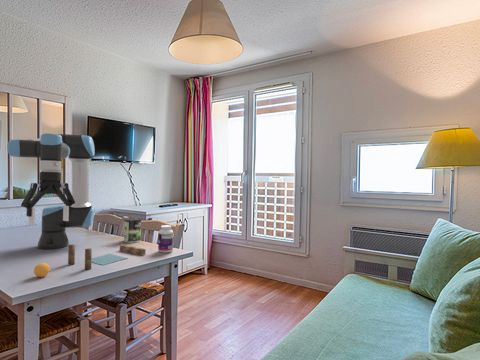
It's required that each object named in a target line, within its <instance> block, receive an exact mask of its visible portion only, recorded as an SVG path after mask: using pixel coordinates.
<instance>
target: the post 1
mask: <svg viewBox="0 0 480 360" xmlns="http://www.w3.org/2000/svg"><path fill="white" fill-rule="evenodd" d="M67 247H68V250H67V251H68V252H67V257H68V258H67V265H68V266H72V265H75V258H76V257H75V256H76V254H75V253H76V251H75V250H76V244H69V245H68V246H67Z"/></svg>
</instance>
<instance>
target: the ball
mask: <svg viewBox="0 0 480 360" xmlns="http://www.w3.org/2000/svg"><path fill="white" fill-rule="evenodd" d="M50 270H51V267H50V265H49V263H46V262H42V263H38V264H37V265H36V266H35V267H34V269H33V274H34V275H35V276H36V277H38V278H44V277H46V276H47V275H48V274H49V273H50Z"/></svg>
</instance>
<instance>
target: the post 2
mask: <svg viewBox="0 0 480 360" xmlns="http://www.w3.org/2000/svg"><path fill="white" fill-rule="evenodd" d="M92 249H93V248H89V247H88V248H85V249H84V271H89V270H90V271H91V269H92V262H91V258H93V257H92V251H93V250H92Z"/></svg>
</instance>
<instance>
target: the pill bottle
mask: <svg viewBox="0 0 480 360" xmlns="http://www.w3.org/2000/svg"><path fill="white" fill-rule="evenodd" d="M157 241H158V245H157V247H158V248H157V249H158V250H157V251H158V252H159V253H163V254H164V253H165V254H166V253H167V254H169V253H172V252H173V250H174V231H173V229H172V225H168V224H166V225H163V224H162V225H161V226H160V230H158V240H157Z"/></svg>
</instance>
